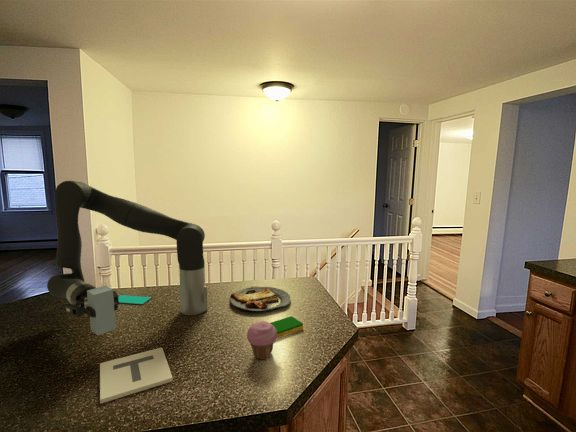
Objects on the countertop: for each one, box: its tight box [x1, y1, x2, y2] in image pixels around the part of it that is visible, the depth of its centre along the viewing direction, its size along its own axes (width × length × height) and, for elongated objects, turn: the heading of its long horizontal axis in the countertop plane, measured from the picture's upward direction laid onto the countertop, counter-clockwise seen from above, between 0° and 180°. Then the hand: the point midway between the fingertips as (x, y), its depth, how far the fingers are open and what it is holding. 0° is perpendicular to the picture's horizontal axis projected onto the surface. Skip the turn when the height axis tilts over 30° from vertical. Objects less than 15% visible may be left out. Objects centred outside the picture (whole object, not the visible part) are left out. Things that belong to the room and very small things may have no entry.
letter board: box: [99, 347, 174, 404], centre depth 84 cm, size 16×16×1 cm
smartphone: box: [118, 294, 153, 306], centre depth 130 cm, size 7×1×15 cm
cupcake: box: [246, 320, 278, 360], centre depth 92 cm, size 9×9×10 cm
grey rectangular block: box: [87, 285, 117, 336], centre depth 91 cm, size 5×5×12 cm
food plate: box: [228, 286, 291, 312], centre depth 130 cm, size 25×23×4 cm
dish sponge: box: [269, 315, 304, 340], centre depth 107 cm, size 7×14×2 cm, turn 125°
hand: (105, 310), depth 89 cm, fingers closed on grey rectangular block, 5 cm apart
